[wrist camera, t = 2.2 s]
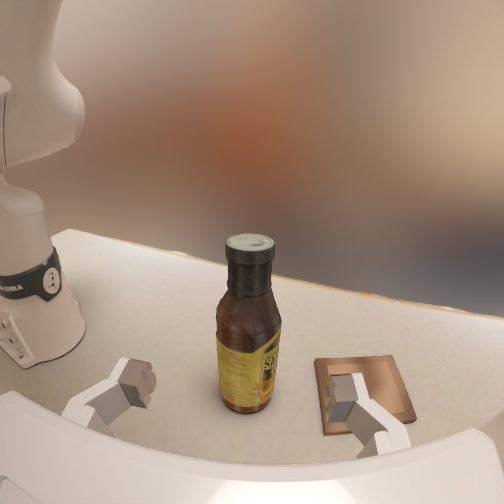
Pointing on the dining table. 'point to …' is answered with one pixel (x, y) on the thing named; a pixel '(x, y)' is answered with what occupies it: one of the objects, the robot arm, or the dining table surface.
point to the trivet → (367, 386)
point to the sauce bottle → (248, 325)
